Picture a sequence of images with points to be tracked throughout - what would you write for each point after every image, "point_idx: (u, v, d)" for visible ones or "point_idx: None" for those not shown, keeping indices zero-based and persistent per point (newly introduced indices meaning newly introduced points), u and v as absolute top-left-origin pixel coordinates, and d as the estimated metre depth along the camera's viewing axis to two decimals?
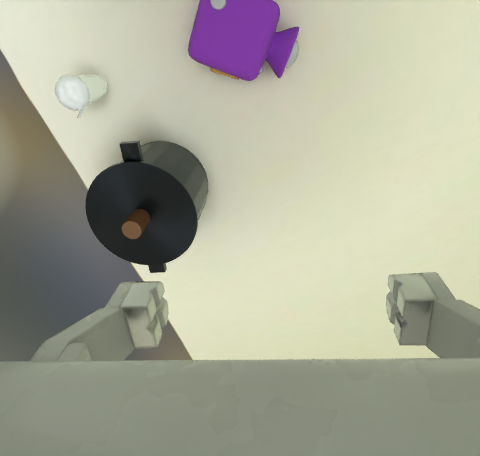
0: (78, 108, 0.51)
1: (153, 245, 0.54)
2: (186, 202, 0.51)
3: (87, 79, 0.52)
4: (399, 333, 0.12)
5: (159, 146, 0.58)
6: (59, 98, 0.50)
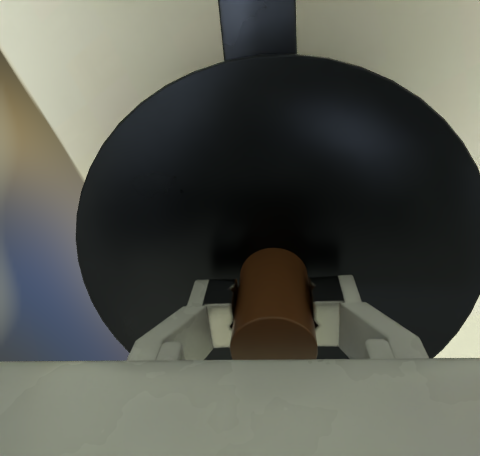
0: None
1: None
2: (466, 225, 0.13)
3: None
4: None
5: None
6: None
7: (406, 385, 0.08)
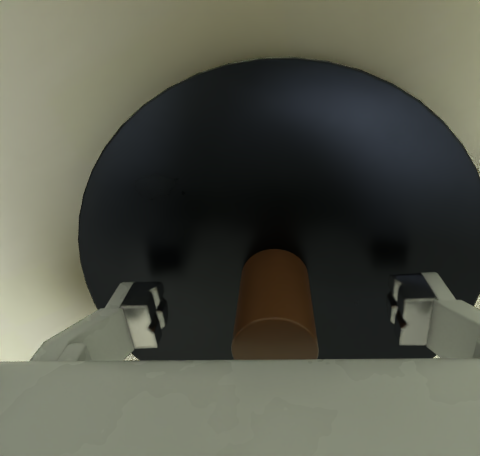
0: None
1: None
2: (465, 226, 0.13)
3: None
4: (399, 333, 0.12)
5: None
6: None
7: (406, 385, 0.08)
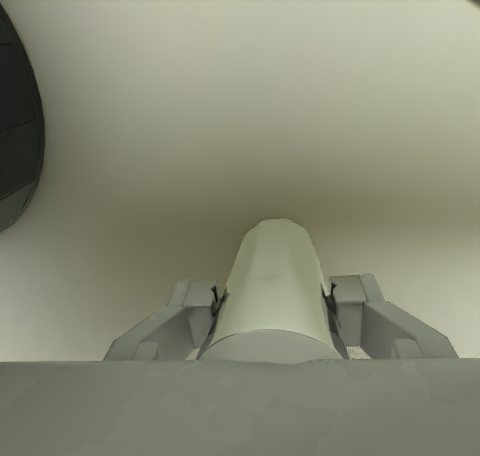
0: None
1: None
2: None
3: None
4: None
5: None
6: None
7: (406, 385, 0.08)
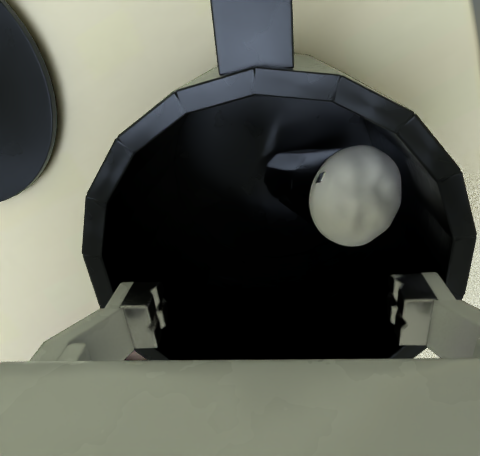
0: (326, 176, 0.16)
1: None
2: None
3: None
4: (399, 333, 0.12)
5: None
6: (385, 166, 0.16)
7: (406, 385, 0.08)
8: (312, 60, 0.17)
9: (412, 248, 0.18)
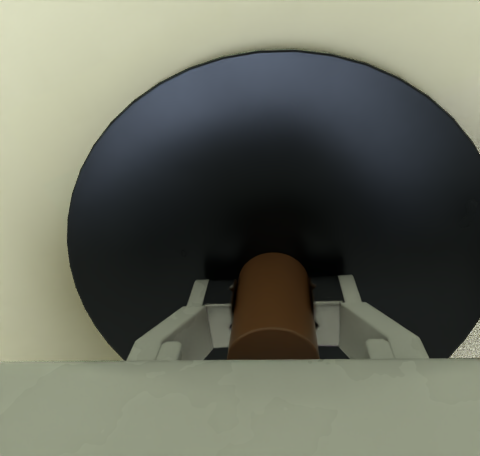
0: None
1: (239, 165, 0.12)
2: (112, 323, 0.16)
3: None
4: None
5: None
6: None
7: (406, 385, 0.08)
8: None
9: None
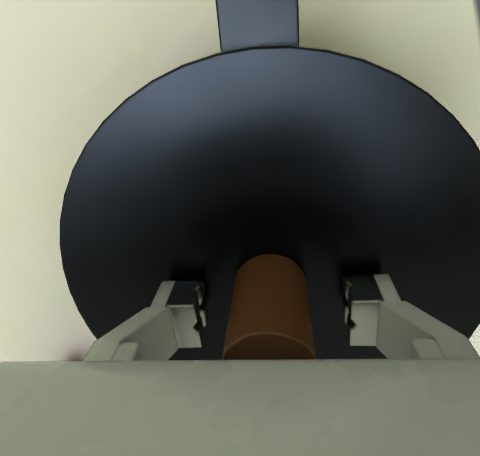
0: None
1: (234, 165, 0.12)
2: (106, 326, 0.15)
3: None
4: (349, 334, 0.12)
5: None
6: None
7: (406, 385, 0.08)
8: None
9: None
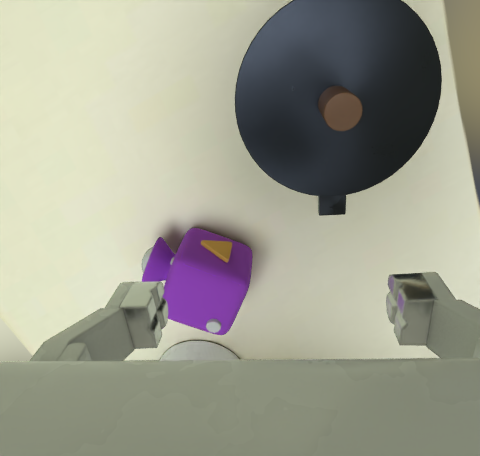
0: None
1: (324, 39, 0.28)
2: (250, 133, 0.31)
3: None
4: (399, 333, 0.12)
5: None
6: None
7: (406, 385, 0.08)
8: None
9: None
